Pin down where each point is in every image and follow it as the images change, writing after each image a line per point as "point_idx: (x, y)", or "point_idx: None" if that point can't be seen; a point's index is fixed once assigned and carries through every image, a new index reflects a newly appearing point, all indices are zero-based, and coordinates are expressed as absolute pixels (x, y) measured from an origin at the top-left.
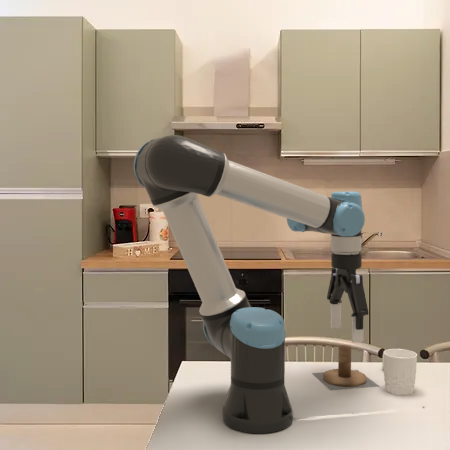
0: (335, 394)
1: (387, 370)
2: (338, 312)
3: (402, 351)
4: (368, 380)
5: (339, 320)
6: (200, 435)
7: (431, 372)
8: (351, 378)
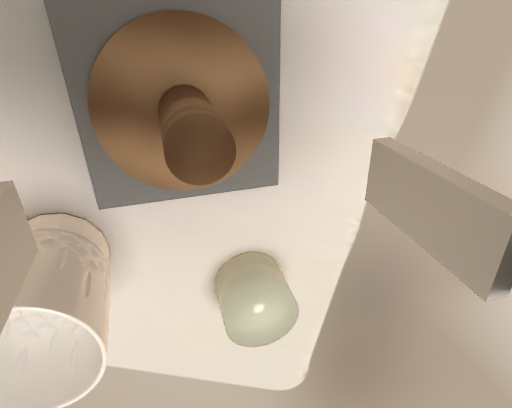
0: (32, 12)
1: None
2: (436, 236)
3: (95, 372)
4: (163, 190)
5: (396, 212)
6: None
7: (237, 359)
8: (147, 128)
